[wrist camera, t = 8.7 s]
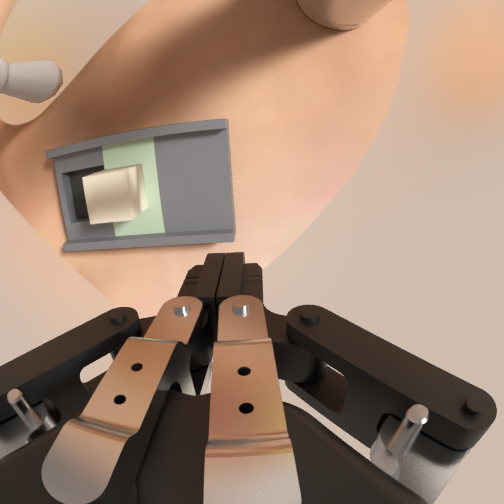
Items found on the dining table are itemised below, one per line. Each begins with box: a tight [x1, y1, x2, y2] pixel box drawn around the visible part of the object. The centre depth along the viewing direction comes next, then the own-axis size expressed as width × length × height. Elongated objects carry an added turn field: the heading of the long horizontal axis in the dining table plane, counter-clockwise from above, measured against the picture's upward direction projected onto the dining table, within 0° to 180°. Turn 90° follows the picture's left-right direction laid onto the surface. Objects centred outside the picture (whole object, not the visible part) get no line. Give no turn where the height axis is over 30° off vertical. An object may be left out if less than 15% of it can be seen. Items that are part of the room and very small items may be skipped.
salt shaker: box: [0, 58, 63, 103], centre depth 22 cm, size 6×6×13 cm
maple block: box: [82, 164, 148, 224], centre depth 30 cm, size 5×5×5 cm
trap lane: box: [46, 119, 236, 252], centre depth 32 cm, size 13×22×4 cm, turn 93°
